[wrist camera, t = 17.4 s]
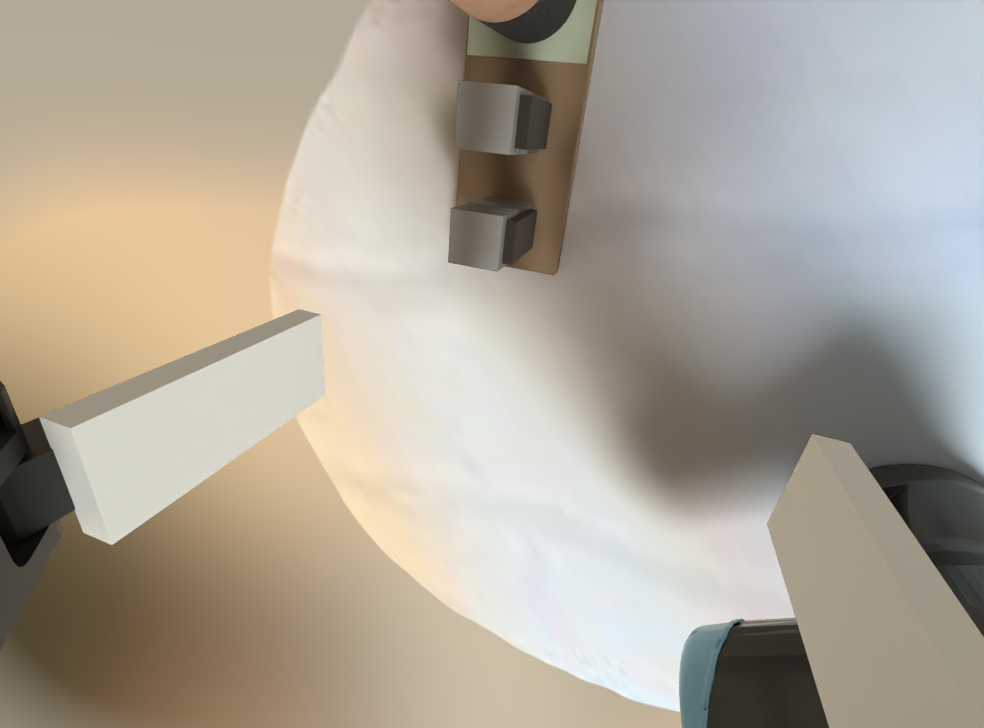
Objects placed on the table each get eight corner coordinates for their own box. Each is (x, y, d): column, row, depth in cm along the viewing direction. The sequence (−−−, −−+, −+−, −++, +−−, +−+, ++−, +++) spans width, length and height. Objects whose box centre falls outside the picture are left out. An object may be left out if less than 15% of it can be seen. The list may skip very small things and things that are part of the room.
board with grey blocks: (618, -92, 32) (605, -192, 22) (557, 270, 44) (532, 304, 34) (484, -92, 34) (420, -182, 25) (461, 252, 46) (412, 280, 37)
